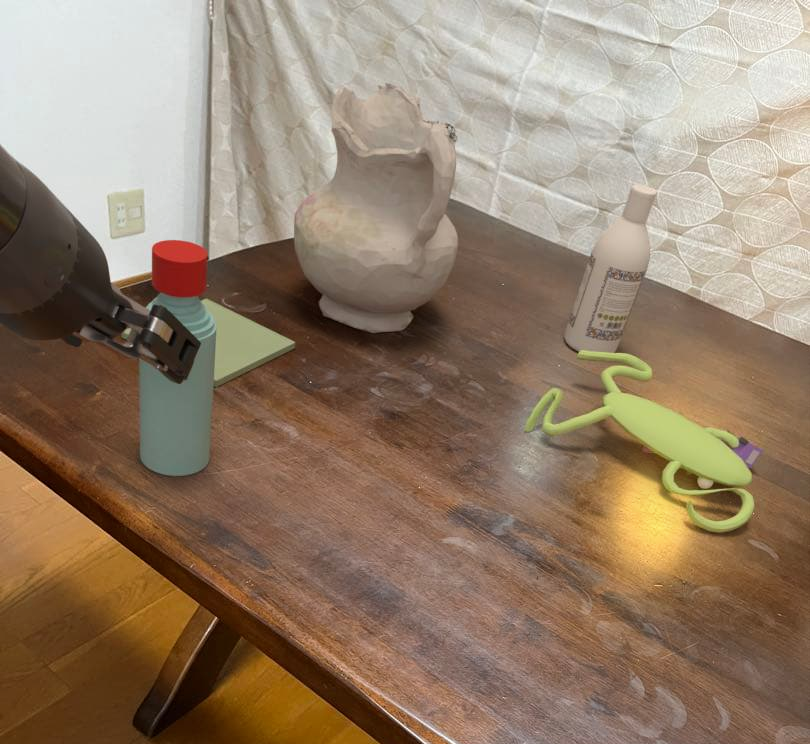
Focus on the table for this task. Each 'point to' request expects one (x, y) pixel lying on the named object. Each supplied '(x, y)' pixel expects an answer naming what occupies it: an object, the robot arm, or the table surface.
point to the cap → (179, 268)
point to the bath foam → (612, 278)
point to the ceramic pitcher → (380, 212)
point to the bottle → (179, 398)
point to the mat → (240, 343)
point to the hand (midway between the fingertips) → (130, 352)
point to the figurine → (665, 438)
